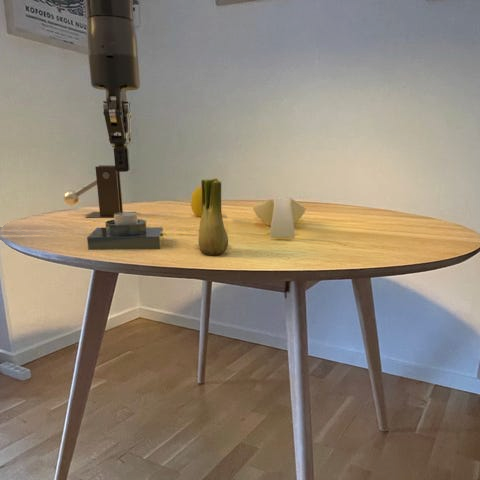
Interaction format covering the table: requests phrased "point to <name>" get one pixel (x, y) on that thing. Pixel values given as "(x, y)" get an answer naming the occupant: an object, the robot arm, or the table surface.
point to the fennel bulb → (212, 219)
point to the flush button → (125, 218)
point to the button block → (125, 236)
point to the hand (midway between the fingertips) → (122, 171)
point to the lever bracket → (108, 192)
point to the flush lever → (77, 193)
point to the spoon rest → (280, 216)
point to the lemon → (197, 201)
